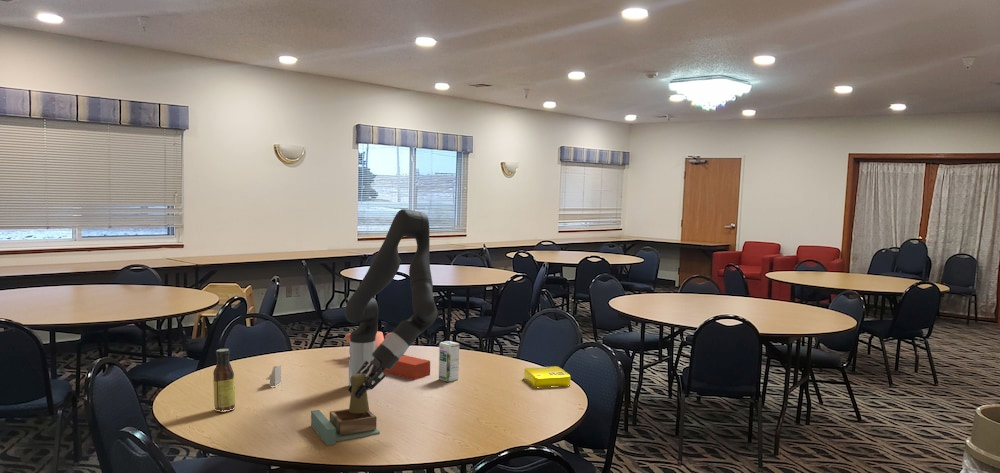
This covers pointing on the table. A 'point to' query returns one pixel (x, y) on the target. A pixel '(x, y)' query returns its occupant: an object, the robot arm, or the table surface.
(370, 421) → the wooden tray
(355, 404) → the olive knob
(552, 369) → the element tile
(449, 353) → the syrup box
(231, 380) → the sauce bottle
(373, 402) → the table surface
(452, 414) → the table surface
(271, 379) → the architectural model
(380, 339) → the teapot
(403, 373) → the brick
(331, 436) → the track and backstop
